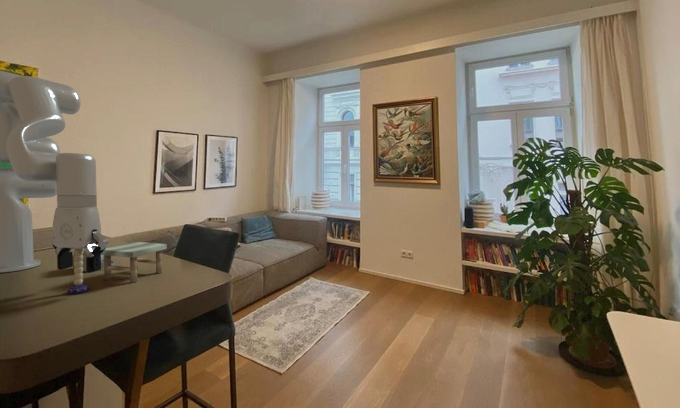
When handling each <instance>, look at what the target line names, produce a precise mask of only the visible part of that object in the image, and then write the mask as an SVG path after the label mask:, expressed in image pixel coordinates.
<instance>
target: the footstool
mask: <svg viewBox="0 0 680 408" xmlns="http://www.w3.org/2000/svg"><path fill="white" fill-rule="evenodd" d="M167 249H168V245H167V243H157V242H156V243H155V242H146V241H145V242H143V241H131V242H128V243H123V244H117V245H116V244H115V245H113V246H111V245H110V246H108V247H107V246H106V247H105V250H104V251H103V254H102V255H104V267H103V270H104V271H103V273H104V275H103V278H104V280H105V281H108V280H109V281H110V280H112V271H118V272H127V273H128V272H129V274H130V275H129V279H130V283H131V284H134V283H135V284H136V283H137V282H138V271H139V263H146V264H153V265H155V273H156V274H162V273H163V252H162V251H164V250H167ZM153 253H155V259H152V258H142V257H141V256H144V255H148V254H153ZM112 257H119V258H120V257H121V258H129V266H123V265H120V266H119V265H114V266H113V265H111V260H112Z"/></svg>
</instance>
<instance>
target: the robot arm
mask: <svg viewBox="0 0 680 408" xmlns="http://www.w3.org/2000/svg"><path fill="white" fill-rule="evenodd" d="M80 108H81V99H80V96H79V93H78V92H77V90H75V89H74V88H73V87H71V86H69V85H67V84H63V83H60V82H55V81H53V80H47V79H43V78H39V77H35V76H30V75H21V74H16V73H13V72H8V71H3V70H0V163H1V164H2V163H4V164H11V167H0V273H9V272H10V273H11V272H18V271H23V270H27V269H28V270H29V269H31V268H32V269H33V268H35V267H38V266H40V265H41V264H42V263H41V260H40V259H35V258H34V235H33V234H34V232H33V213H32V210H31V209H30V207H29V206H28V205H26V204H25V203H24V201H23V202H22V200H21V199H42V198H43V199H45V198H53V197H55V196H56V206H57V207H55V210H54V215H53V220H52V234H51V235H50V237H49V240H50V241H51V243H52V247H53V249H54V253H55V254H56V260H57V262H56V264H57V265H56V266H57V270H64V269H69V268H73V255H74V254H73V251H71V250H72V249H73V250H75V249H83V248H84V249H85V251H86V253H87V254H88V256H89V257H86V269H87V272H86V273H88V274H91V273H95V272H98V271H101V270H102V267H101V255H102V254H103V251H104V250H105V248H107V245H108V243H109V240H108V238H107V237H105V236H104V235H102V227H101V220H100V214H99V209H98V205H97V204H98V203H97V202H98V198H97V195H98V194H97V163H96V159H95V157H94V156H93V155H90V154H85V153H80V152H79V153H78V152H77V153H75V152H60V148H59V145H58V143H57V142H56V141H55V140H54V139H52V138H50V137H53V136H56V135H59V134H60V133H62V132H63V131H64V130H65V128H66V122H65V118H64V117H63V114H67V115H75V114H77V113H78V112H79V110H80ZM91 248H94V250H93V251H92V249H91Z"/></svg>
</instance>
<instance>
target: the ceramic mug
mask: <svg viewBox="0 0 680 408" xmlns="http://www.w3.org/2000/svg"><path fill="white" fill-rule="evenodd" d="M91 249H92V251H93V250H94V248H91ZM82 255H83V260H82V261H83V266H82V267H83V272H82V273H85V272H86V273H87V269H86V257H89V256H88V254H87V253H86V251H85V249H84V248H83V254H82ZM74 256H75V254H73V266H72V268H73V269H74V268H75V267H74V262H75V261H74ZM111 265H113V266H116V261H115V260H113V259H111ZM101 268H104V255H101Z"/></svg>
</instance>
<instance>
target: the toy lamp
mask: <svg viewBox="0 0 680 408" xmlns="http://www.w3.org/2000/svg"><path fill="white" fill-rule="evenodd" d="M73 250H74V251H73V253H74V254H75V256H74V261H75V262H74V267H75V268H73V273H74V274H73V279H74V280H73V285H71V286H70V287H69V288H68V290H67V291H66V293H67V294H68V295H78V294H85V293H86V292H88V291H90V288H89V286H88V285H87V284H85V283H83V282H84V279H83V277H84V272H83V267H82V266H83V261H82V260H83V255H82V254H83V249H73ZM74 254H73V255H74Z"/></svg>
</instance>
